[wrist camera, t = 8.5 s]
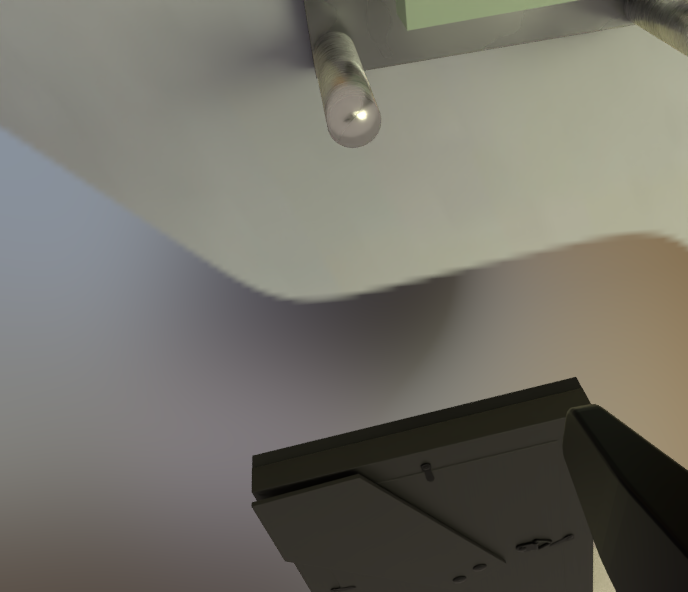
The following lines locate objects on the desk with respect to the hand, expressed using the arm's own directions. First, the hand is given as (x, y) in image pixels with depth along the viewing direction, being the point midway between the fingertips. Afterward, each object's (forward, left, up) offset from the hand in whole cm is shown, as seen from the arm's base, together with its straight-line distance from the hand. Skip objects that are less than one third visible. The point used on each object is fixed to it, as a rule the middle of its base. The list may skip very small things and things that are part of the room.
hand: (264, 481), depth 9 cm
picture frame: (-5, +26, -14) cm, 30 cm away
